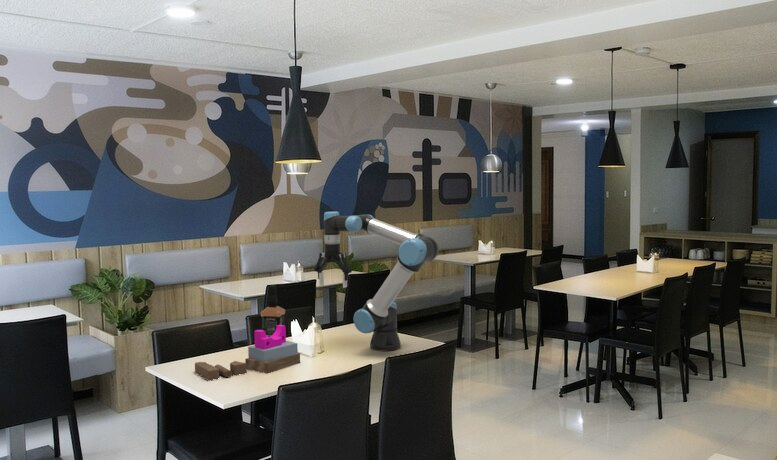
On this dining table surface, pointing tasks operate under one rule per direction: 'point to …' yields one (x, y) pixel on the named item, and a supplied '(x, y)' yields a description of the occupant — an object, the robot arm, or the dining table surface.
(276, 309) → the whiskey bottle
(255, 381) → the dining table surface
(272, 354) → the tower cap slab
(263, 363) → the tower base slab
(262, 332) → the toy block
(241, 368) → the wooden block set
